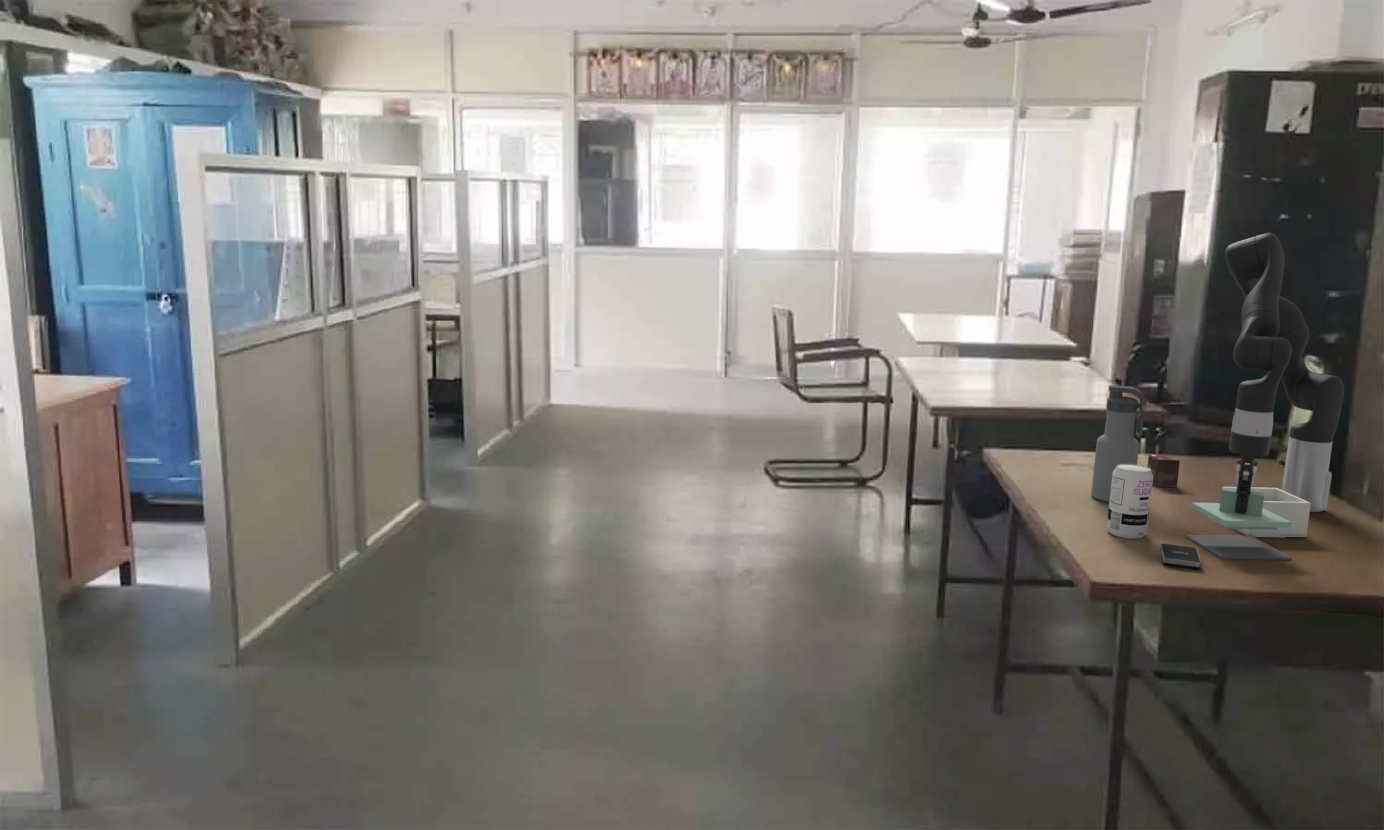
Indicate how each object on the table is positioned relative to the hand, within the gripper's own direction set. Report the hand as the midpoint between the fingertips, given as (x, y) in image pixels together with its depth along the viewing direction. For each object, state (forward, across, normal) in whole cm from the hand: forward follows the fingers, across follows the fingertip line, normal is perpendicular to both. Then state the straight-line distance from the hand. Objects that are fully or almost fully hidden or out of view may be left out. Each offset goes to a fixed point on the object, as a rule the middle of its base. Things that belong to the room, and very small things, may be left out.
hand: (1240, 510), depth 230 cm
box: (+9, +53, +19) cm, 57 cm away
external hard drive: (+9, -16, +10) cm, 21 cm away
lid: (+2, 0, 0) cm, 2 cm away
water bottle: (+8, +29, +28) cm, 41 cm away
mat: (+8, 0, 0) cm, 8 cm away
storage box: (+8, +20, -5) cm, 22 cm away
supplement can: (+9, -2, +22) cm, 23 cm away
